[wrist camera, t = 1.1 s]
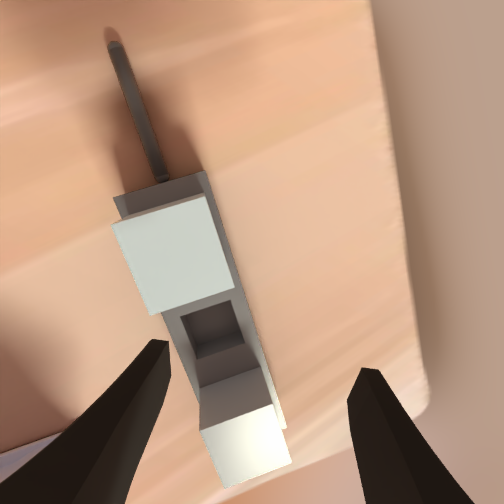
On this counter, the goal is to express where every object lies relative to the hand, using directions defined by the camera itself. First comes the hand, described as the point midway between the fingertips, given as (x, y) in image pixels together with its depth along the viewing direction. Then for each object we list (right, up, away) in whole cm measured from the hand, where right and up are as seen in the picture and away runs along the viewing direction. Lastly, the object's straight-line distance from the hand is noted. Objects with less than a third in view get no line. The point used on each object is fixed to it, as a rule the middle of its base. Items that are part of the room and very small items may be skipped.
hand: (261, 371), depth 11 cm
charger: (-5, +6, +11) cm, 13 cm away
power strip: (-5, +4, +12) cm, 14 cm away
